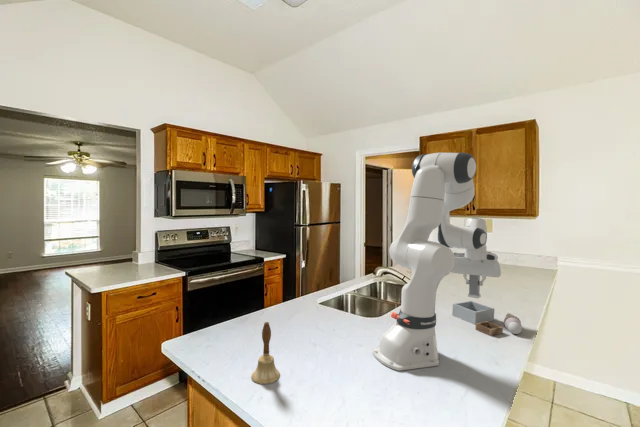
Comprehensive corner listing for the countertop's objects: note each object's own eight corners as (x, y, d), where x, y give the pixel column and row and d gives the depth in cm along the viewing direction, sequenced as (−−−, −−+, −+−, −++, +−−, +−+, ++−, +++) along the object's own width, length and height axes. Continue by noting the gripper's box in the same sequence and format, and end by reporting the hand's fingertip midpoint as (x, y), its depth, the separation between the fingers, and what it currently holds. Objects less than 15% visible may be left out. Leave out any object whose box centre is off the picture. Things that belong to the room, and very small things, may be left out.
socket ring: (491, 336, 122) (491, 329, 122) (475, 329, 128) (475, 323, 128) (502, 333, 125) (502, 327, 125) (486, 326, 131) (487, 320, 131)
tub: (475, 324, 133) (475, 312, 133) (452, 315, 144) (452, 303, 144) (493, 320, 138) (494, 308, 138) (470, 311, 149) (470, 300, 149)
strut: (478, 298, 138) (478, 268, 139) (468, 296, 141) (468, 267, 141) (480, 296, 141) (481, 268, 142) (470, 295, 144) (471, 267, 144)
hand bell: (285, 375, 92) (286, 322, 91) (263, 388, 86) (263, 330, 85) (268, 365, 97) (268, 315, 97) (245, 376, 91) (245, 322, 91)
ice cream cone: (507, 321, 137) (516, 341, 123) (496, 312, 138) (503, 330, 124) (519, 312, 135) (529, 331, 121) (507, 303, 136) (515, 321, 122)
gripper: (449, 253, 141) (448, 283, 142) (501, 257, 133) (500, 289, 134) (450, 251, 147) (449, 280, 148) (500, 254, 139) (499, 285, 139)
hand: (474, 284), depth 141 cm, fingers closed on strut, 4 cm apart
